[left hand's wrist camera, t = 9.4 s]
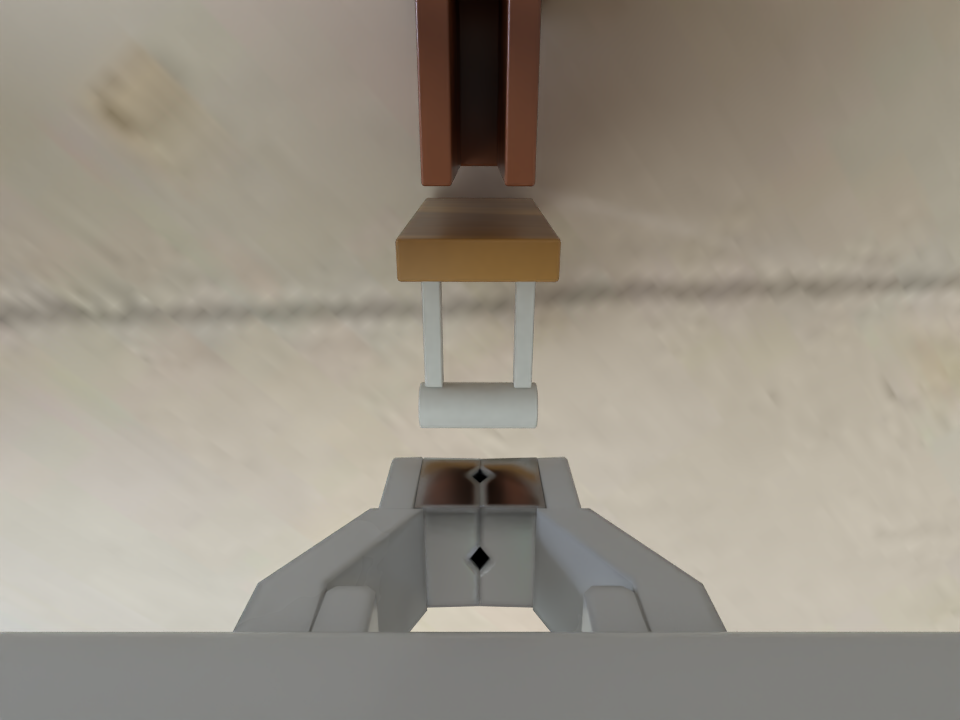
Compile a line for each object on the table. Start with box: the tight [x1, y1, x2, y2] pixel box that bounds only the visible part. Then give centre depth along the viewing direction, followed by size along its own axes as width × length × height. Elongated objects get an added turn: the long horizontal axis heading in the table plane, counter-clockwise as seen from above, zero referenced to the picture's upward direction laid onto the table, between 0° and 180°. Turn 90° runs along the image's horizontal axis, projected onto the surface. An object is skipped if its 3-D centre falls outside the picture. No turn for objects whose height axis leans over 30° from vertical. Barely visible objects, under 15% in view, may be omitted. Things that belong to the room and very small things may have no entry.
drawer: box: [395, 0, 561, 428], centre depth 18 cm, size 22×4×9 cm, turn 0°
